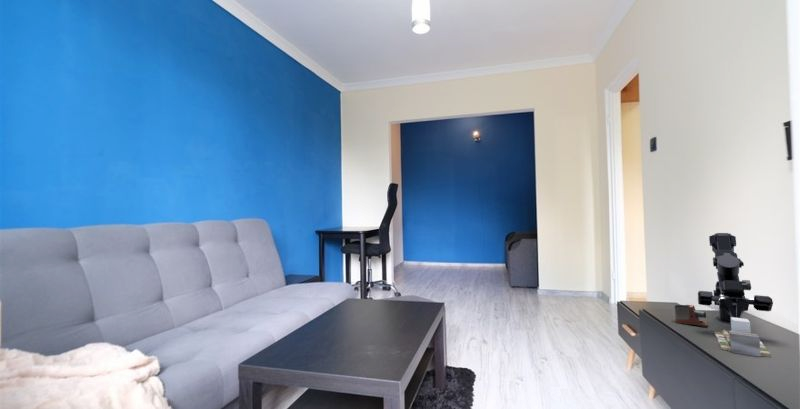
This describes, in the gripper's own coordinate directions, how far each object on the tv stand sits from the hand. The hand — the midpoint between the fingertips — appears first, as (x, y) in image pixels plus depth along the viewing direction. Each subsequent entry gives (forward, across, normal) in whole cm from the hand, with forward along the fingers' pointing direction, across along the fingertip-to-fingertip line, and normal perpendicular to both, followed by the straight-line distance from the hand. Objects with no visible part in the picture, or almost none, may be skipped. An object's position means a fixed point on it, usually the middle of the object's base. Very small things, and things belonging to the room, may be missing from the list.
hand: (737, 322), depth 114 cm
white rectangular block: (+8, -2, 0) cm, 8 cm away
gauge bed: (+7, 0, +3) cm, 7 cm away
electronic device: (-5, -11, +16) cm, 20 cm away
